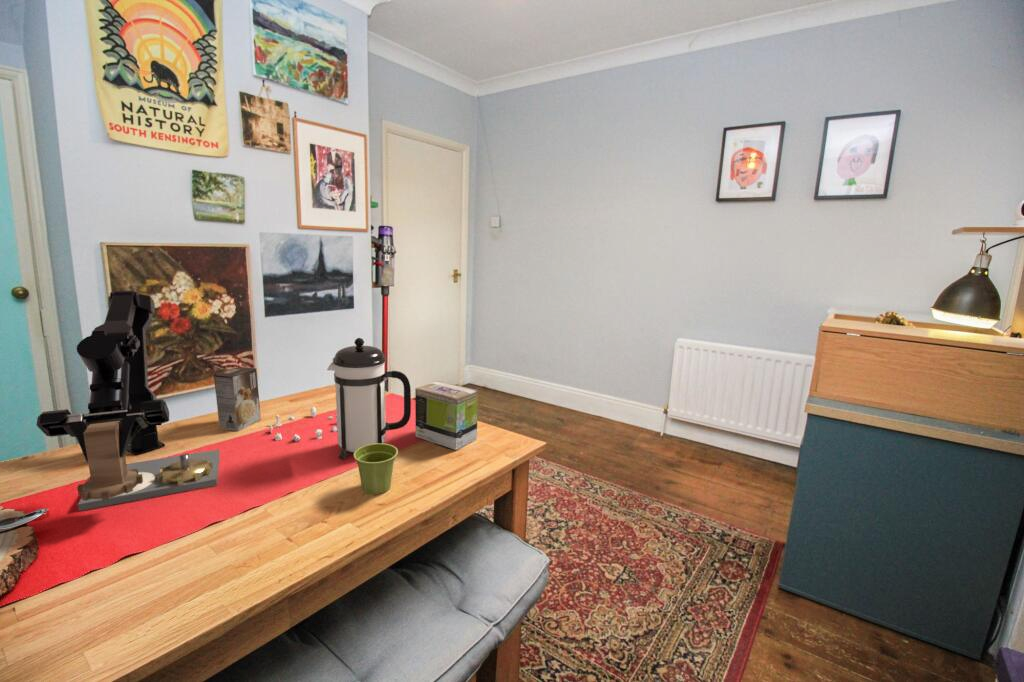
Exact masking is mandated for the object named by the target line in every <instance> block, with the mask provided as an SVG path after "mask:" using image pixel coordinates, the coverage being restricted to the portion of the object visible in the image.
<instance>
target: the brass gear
mask: <svg viewBox="0 0 1024 682" xmlns="http://www.w3.org/2000/svg"><path fill="white" fill-rule="evenodd" d="M188 454H189V453H184V454H183V453H182V454H180V455H179V456H180V462H177V461H175V462H172V464H171V465H169V466H167V467H162V468H161V469H160V473H158V474H157V478H158V482H161V481H163V485H166V486H168V485H169V484H178V486H179V485H184V483H187V482H191V481H199V480H201V477H203V476H205V475H210V474H211V469H213V463H212V461H209V462H207V458H201V459H193V458H189V455H188Z"/></svg>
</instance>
